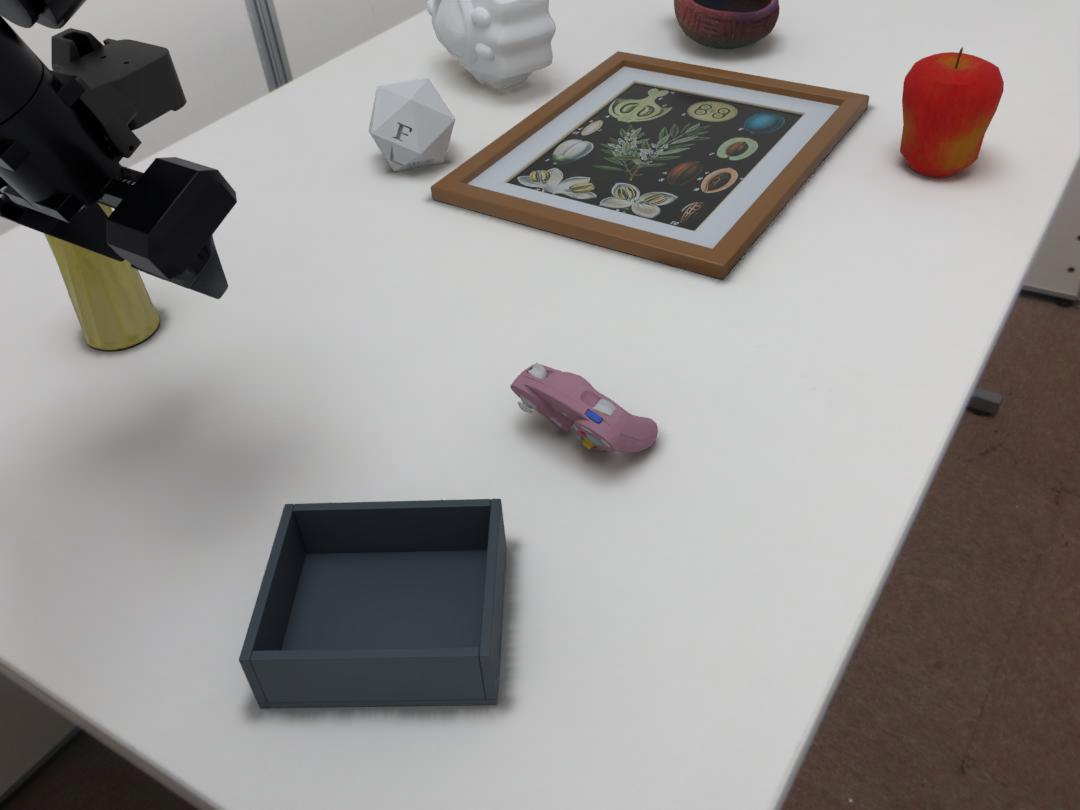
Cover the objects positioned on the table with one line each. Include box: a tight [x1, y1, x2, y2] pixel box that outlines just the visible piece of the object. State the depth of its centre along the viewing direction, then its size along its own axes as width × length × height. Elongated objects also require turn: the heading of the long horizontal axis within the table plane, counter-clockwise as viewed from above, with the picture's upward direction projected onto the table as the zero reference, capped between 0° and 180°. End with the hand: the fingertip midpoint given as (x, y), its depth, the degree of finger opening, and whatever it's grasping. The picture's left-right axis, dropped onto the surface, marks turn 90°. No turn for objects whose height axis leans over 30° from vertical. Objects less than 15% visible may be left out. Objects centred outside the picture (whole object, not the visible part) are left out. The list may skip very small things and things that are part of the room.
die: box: [367, 77, 456, 173], centre depth 100 cm, size 8×9×10 cm
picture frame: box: [430, 50, 870, 280], centre depth 101 cm, size 31×2×38 cm
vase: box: [43, 203, 161, 351], centre depth 78 cm, size 6×6×14 cm
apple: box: [899, 46, 1005, 179], centre depth 92 cm, size 9×8×12 cm
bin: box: [238, 498, 508, 709], centre depth 56 cm, size 13×11×4 cm
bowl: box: [673, 0, 781, 51], centre depth 121 cm, size 16×13×8 cm
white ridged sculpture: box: [426, 0, 557, 90], centre depth 113 cm, size 11×18×16 cm, turn 33°
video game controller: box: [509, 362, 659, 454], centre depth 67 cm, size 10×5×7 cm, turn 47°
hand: (172, 273), depth 63 cm, fingers open, 9 cm apart
